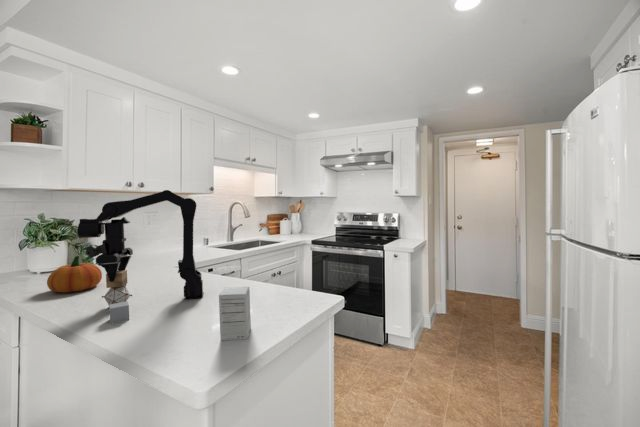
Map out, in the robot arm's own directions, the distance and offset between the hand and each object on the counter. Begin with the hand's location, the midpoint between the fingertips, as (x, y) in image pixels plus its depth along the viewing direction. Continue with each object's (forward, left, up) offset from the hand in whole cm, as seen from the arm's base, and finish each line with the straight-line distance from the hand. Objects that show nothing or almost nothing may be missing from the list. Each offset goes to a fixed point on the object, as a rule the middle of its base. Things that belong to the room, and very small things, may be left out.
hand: (116, 278), depth 108 cm
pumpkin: (+27, -35, -11) cm, 46 cm away
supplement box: (-41, +40, -11) cm, 58 cm away
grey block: (-5, +15, -11) cm, 19 cm away
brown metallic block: (0, 0, -3) cm, 3 cm away
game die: (0, 0, -11) cm, 11 cm away
